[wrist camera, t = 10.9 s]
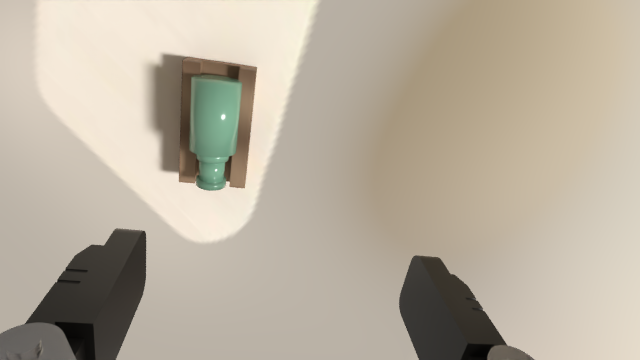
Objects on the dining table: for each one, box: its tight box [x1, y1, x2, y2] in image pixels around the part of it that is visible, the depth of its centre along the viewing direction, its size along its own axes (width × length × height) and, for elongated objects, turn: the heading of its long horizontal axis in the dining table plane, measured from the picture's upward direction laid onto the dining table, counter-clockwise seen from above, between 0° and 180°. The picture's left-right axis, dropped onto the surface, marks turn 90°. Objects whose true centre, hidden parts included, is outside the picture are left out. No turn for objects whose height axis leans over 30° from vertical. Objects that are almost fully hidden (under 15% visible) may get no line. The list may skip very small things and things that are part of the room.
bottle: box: [189, 75, 242, 190], centre depth 35 cm, size 9×4×4 cm, turn 171°
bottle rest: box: [179, 57, 257, 188], centre depth 37 cm, size 11×6×2 cm, turn 171°
